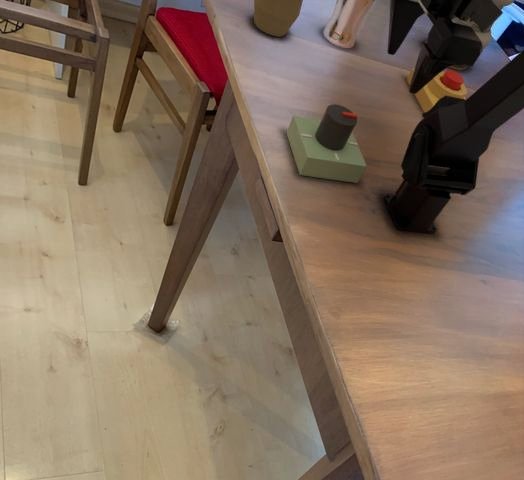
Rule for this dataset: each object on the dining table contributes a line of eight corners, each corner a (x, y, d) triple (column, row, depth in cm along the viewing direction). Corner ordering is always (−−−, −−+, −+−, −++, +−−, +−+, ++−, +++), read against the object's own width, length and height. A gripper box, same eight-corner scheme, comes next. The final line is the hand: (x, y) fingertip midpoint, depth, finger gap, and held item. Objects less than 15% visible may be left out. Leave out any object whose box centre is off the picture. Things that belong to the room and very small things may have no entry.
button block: (470, 128, 99) (484, 108, 96) (428, 120, 96) (441, 99, 93) (446, 88, 105) (458, 68, 102) (406, 79, 102) (417, 58, 99)
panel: (357, 183, 79) (367, 165, 76) (299, 175, 76) (308, 156, 73) (341, 142, 83) (350, 124, 81) (285, 133, 80) (293, 113, 78)
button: (461, 93, 98) (467, 84, 96) (444, 89, 96) (450, 80, 95) (453, 81, 99) (459, 72, 98) (437, 77, 98) (442, 68, 97)
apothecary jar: (408, 41, 112) (461, -59, 98) (440, 35, 119) (493, -59, 105) (452, 77, 109) (513, -21, 95) (481, 69, 116) (542, -24, 102)
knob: (319, 148, 75) (332, 120, 72) (312, 127, 77) (324, 99, 74) (348, 152, 77) (362, 125, 73) (340, 132, 79) (353, 105, 76)
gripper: (552, 8, 65) (471, 122, 78) (486, -67, 75) (424, 46, 87) (477, -14, 61) (405, 111, 73) (418, -91, 70) (362, 31, 83)
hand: (401, 72), depth 79 cm, fingers open, 9 cm apart
